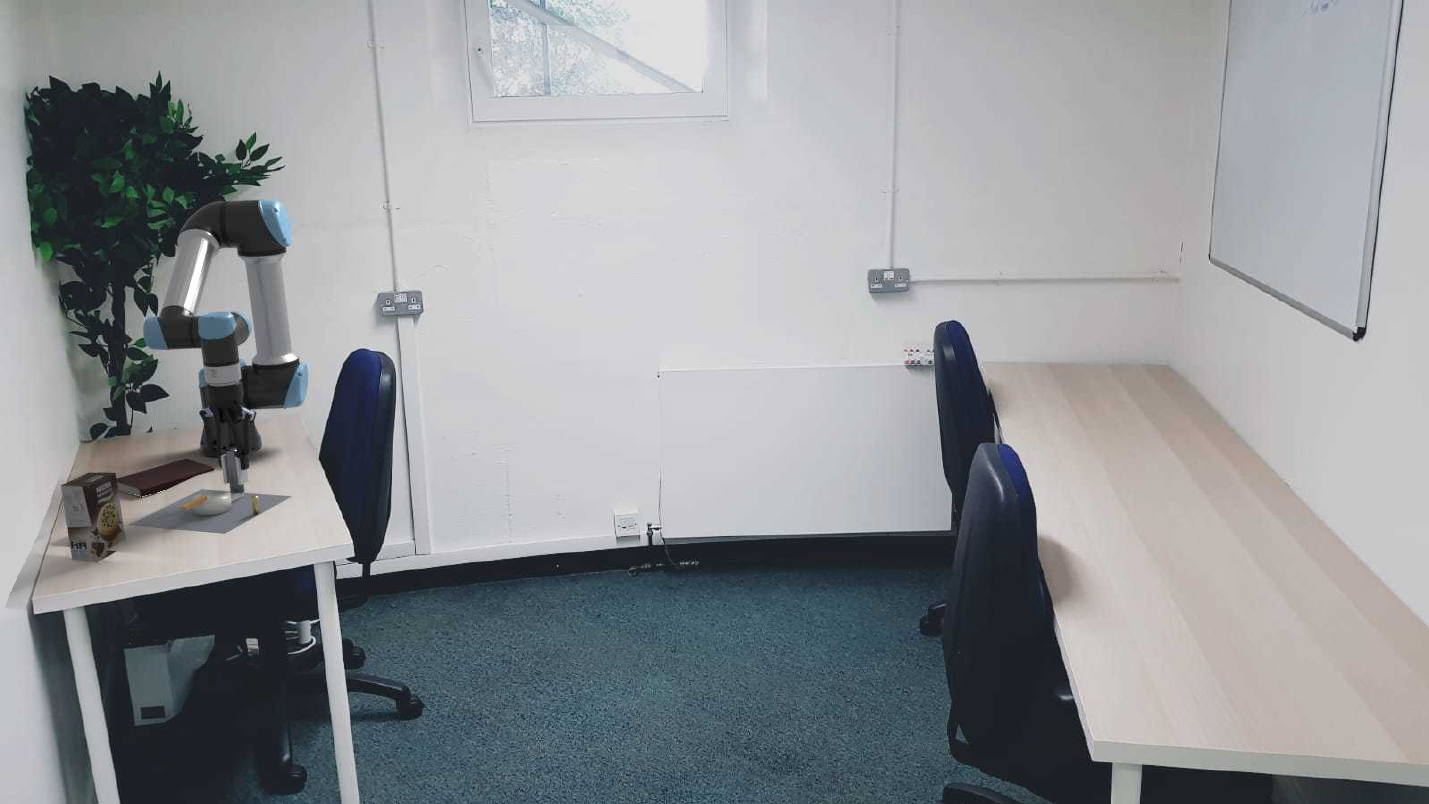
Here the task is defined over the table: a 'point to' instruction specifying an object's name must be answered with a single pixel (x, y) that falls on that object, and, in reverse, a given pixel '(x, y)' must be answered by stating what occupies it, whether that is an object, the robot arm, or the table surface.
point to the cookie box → (93, 515)
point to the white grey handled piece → (218, 492)
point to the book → (161, 477)
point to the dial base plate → (216, 523)
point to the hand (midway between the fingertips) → (236, 482)
